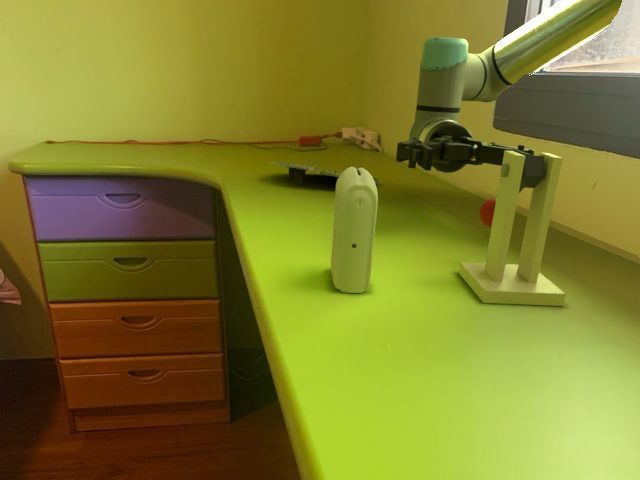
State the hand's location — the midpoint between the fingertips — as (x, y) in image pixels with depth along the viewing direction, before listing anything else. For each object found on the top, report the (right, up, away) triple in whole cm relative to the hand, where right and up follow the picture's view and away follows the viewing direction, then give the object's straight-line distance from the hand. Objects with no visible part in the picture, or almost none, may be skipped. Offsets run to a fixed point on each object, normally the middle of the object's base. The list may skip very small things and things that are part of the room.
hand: (478, 162), depth 94 cm
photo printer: (-18, -19, -14) cm, 30 cm away
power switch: (0, -20, -13) cm, 24 cm away
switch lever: (+1, -10, -13) cm, 17 cm away
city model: (-20, +15, +51) cm, 57 cm away
